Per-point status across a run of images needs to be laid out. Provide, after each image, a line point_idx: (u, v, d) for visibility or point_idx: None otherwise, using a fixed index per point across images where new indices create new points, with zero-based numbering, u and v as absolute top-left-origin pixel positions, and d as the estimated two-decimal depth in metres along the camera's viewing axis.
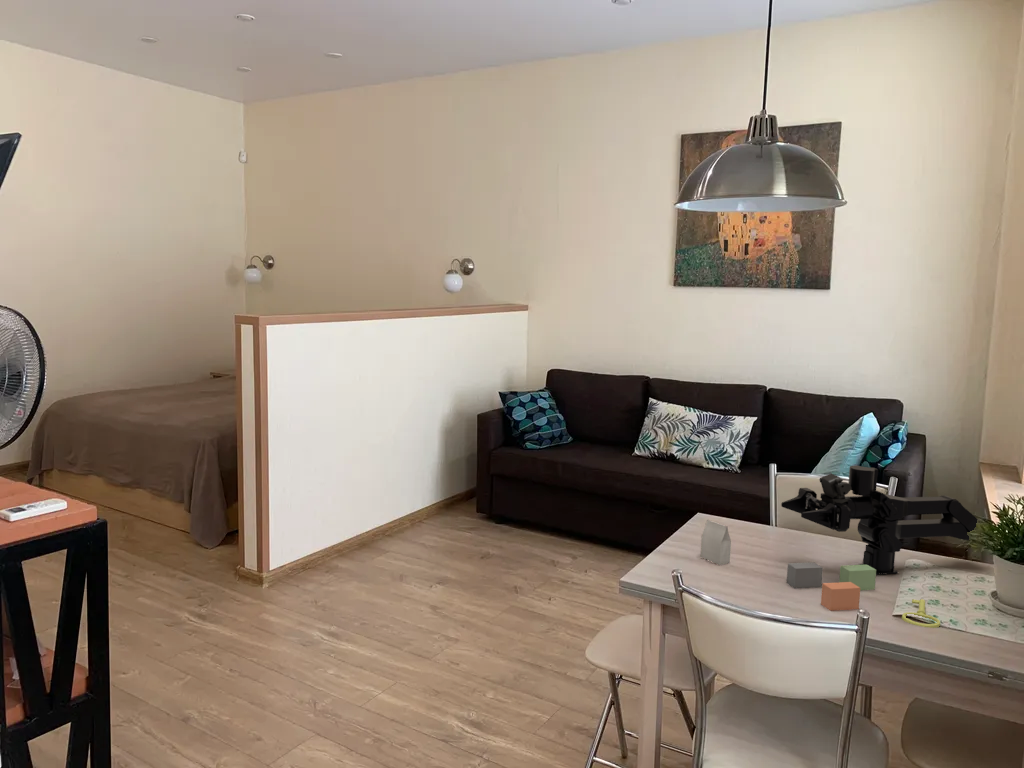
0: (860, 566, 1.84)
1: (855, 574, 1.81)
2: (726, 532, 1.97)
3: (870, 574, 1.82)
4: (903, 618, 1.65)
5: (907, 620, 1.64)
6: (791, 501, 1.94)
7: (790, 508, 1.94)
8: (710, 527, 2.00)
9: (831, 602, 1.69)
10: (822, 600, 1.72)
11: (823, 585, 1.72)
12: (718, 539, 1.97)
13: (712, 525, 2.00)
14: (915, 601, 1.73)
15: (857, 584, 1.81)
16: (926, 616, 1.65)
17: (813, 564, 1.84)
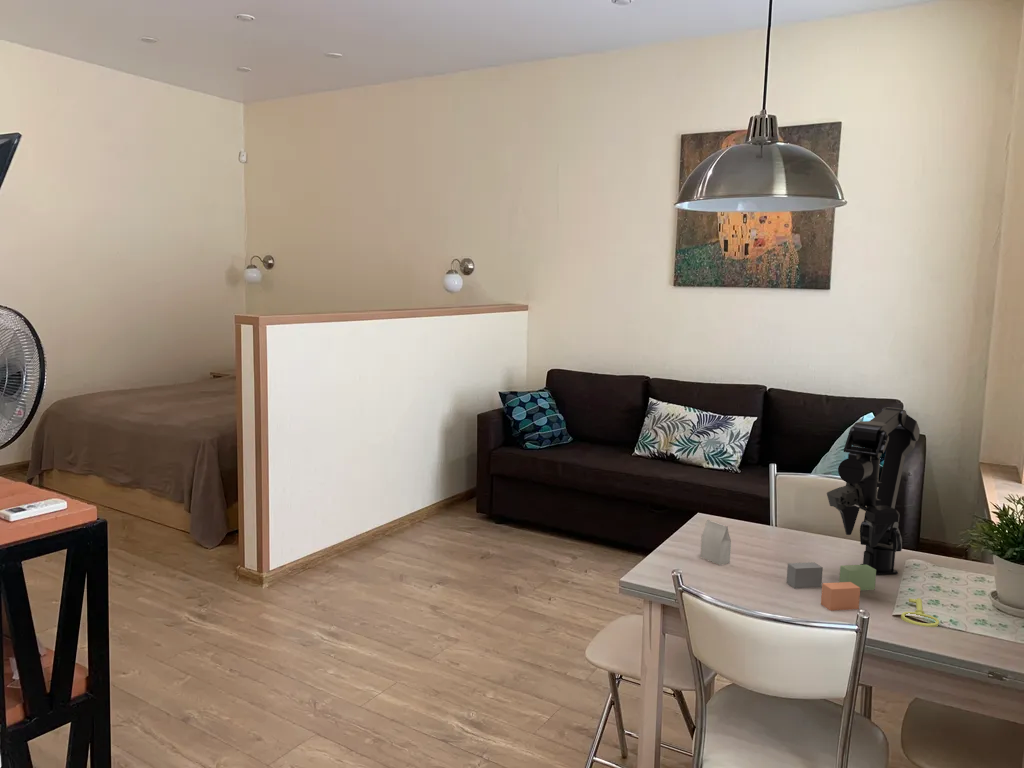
0: (860, 566, 1.84)
1: (855, 574, 1.81)
2: (726, 532, 1.97)
3: (870, 574, 1.82)
4: (902, 617, 1.65)
5: (907, 620, 1.64)
6: (846, 524, 1.86)
7: (853, 525, 1.87)
8: (710, 527, 2.00)
9: (831, 602, 1.69)
10: (822, 600, 1.72)
11: (823, 585, 1.72)
12: (718, 539, 1.97)
13: (712, 525, 2.00)
14: (912, 600, 1.73)
15: (857, 584, 1.81)
16: (925, 615, 1.66)
17: (813, 564, 1.84)
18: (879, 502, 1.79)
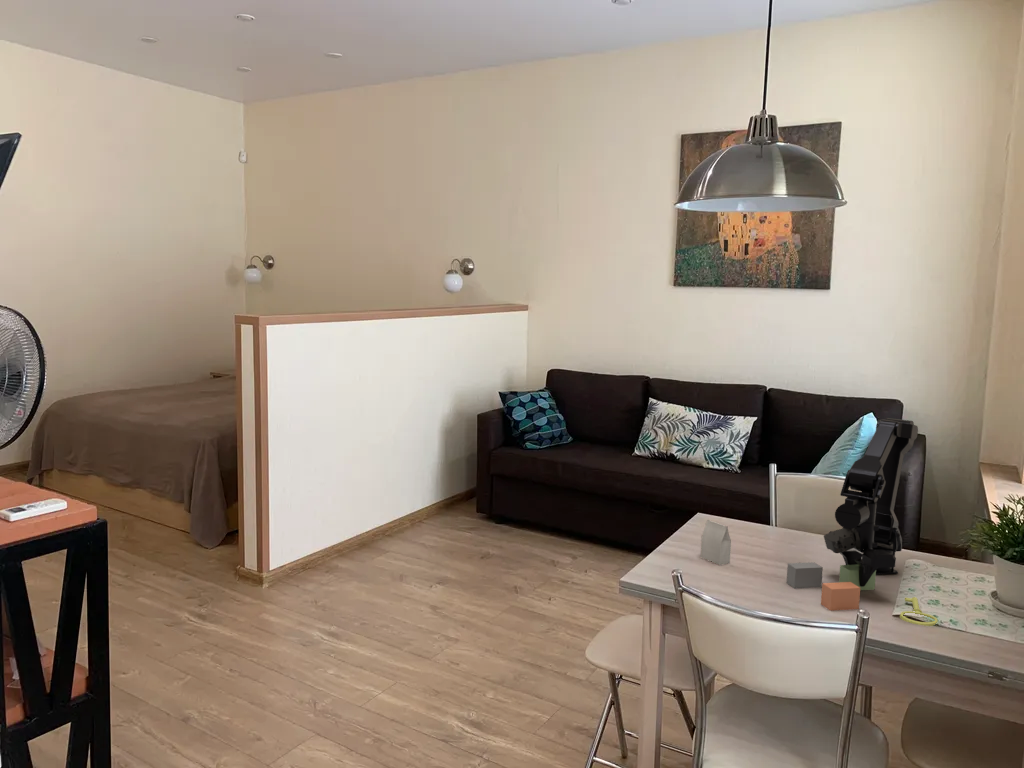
0: None
1: (855, 573, 1.81)
2: (726, 532, 1.97)
3: None
4: (901, 617, 1.66)
5: (906, 619, 1.65)
6: None
7: None
8: (710, 527, 2.00)
9: (831, 602, 1.69)
10: (822, 600, 1.72)
11: (823, 585, 1.72)
12: (718, 539, 1.97)
13: (712, 525, 2.00)
14: (908, 599, 1.74)
15: (857, 584, 1.81)
16: (923, 614, 1.66)
17: (813, 564, 1.84)
18: (876, 545, 1.80)
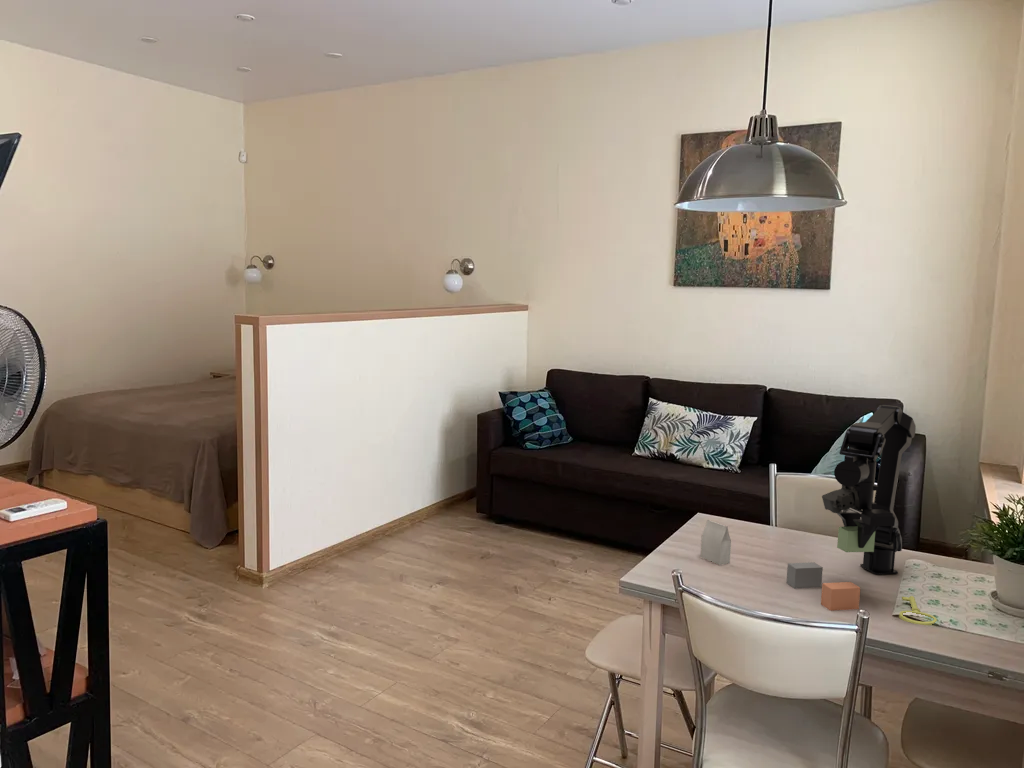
0: None
1: (853, 534, 1.77)
2: (726, 532, 1.97)
3: None
4: (900, 617, 1.66)
5: (906, 619, 1.65)
6: None
7: None
8: (710, 527, 2.00)
9: (831, 602, 1.69)
10: (822, 600, 1.72)
11: (823, 585, 1.72)
12: (718, 539, 1.97)
13: (712, 525, 2.00)
14: (905, 598, 1.74)
15: (856, 545, 1.77)
16: (921, 613, 1.67)
17: (813, 564, 1.84)
18: (875, 506, 1.76)
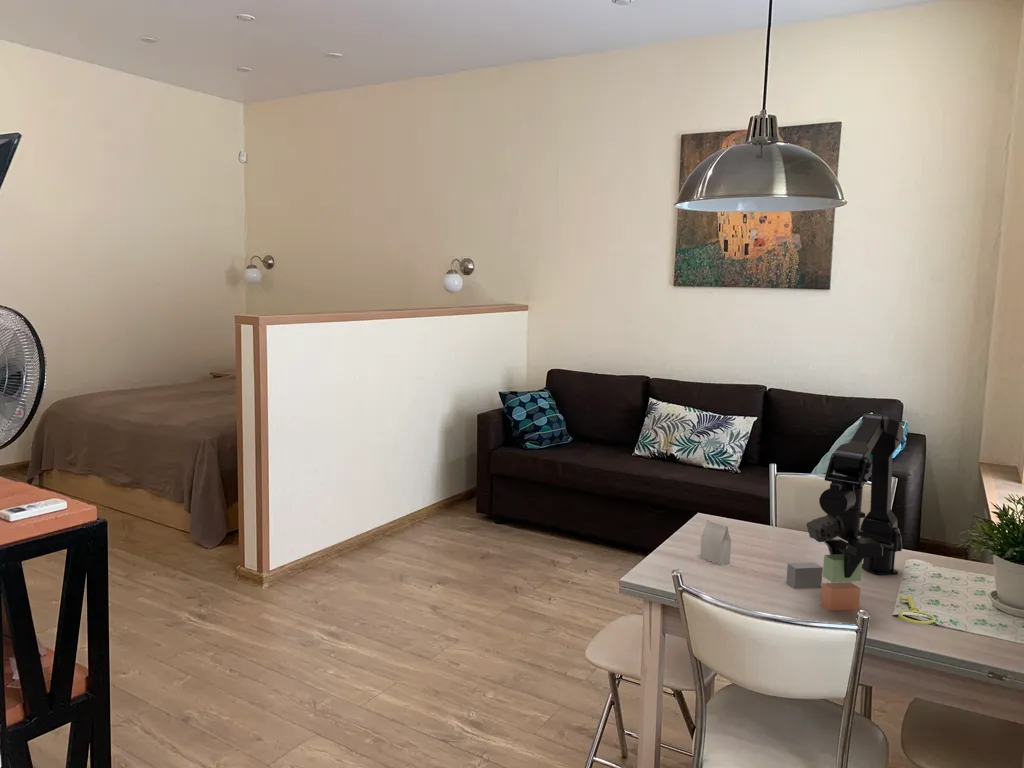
0: None
1: (839, 563, 1.69)
2: (726, 532, 1.97)
3: None
4: (900, 616, 1.66)
5: (905, 619, 1.65)
6: None
7: None
8: (710, 527, 2.00)
9: (831, 602, 1.69)
10: (822, 600, 1.72)
11: (823, 585, 1.72)
12: (718, 539, 1.97)
13: (712, 525, 2.00)
14: (903, 598, 1.74)
15: (842, 574, 1.69)
16: (920, 613, 1.67)
17: (813, 564, 1.84)
18: (862, 534, 1.68)
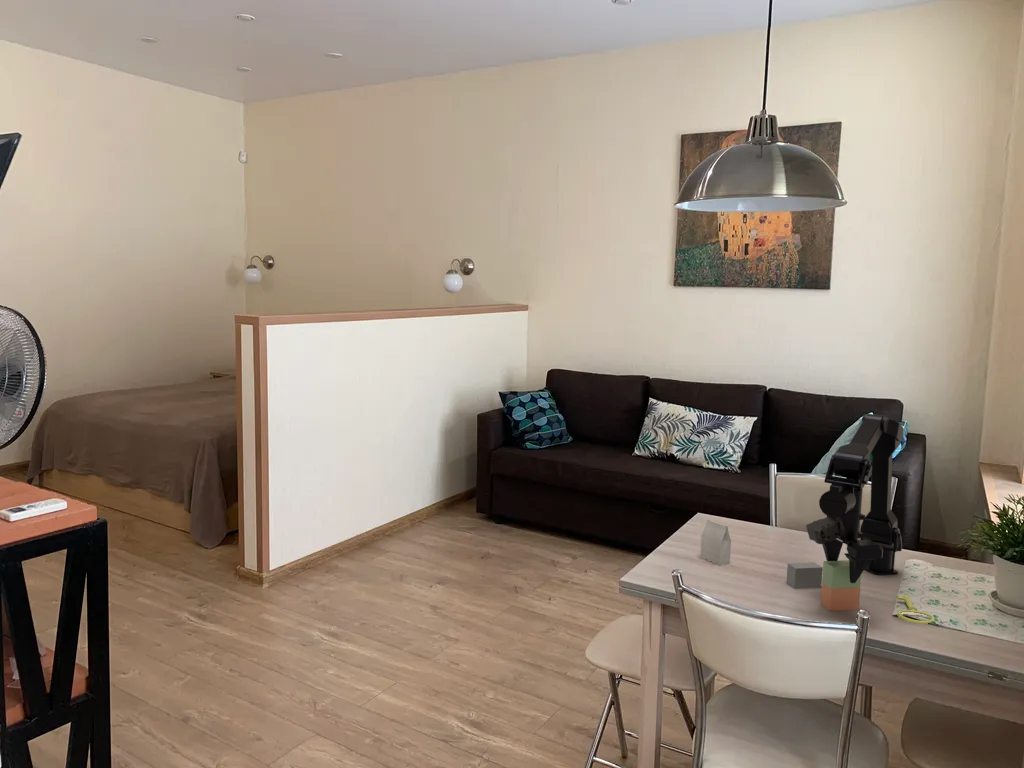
0: (845, 562, 1.72)
1: (839, 570, 1.69)
2: (726, 532, 1.97)
3: None
4: (899, 616, 1.66)
5: (905, 618, 1.65)
6: (829, 559, 1.74)
7: (836, 559, 1.75)
8: (710, 527, 2.00)
9: (831, 602, 1.69)
10: (822, 600, 1.72)
11: (823, 585, 1.72)
12: (718, 539, 1.97)
13: (712, 525, 2.00)
14: (900, 597, 1.75)
15: (841, 581, 1.69)
16: (919, 612, 1.67)
17: (813, 564, 1.84)
18: (862, 536, 1.68)
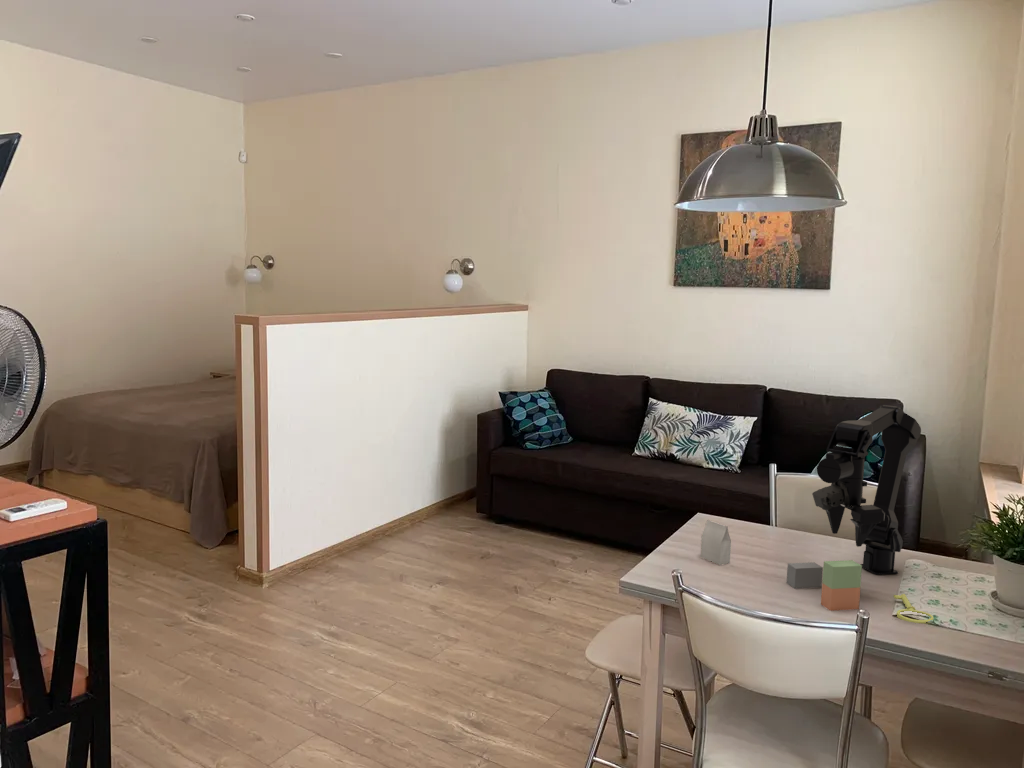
0: (845, 562, 1.72)
1: (839, 570, 1.69)
2: (726, 532, 1.97)
3: (856, 571, 1.69)
4: (899, 616, 1.66)
5: (904, 618, 1.65)
6: (832, 523, 1.87)
7: (839, 523, 1.87)
8: (710, 527, 2.00)
9: (831, 602, 1.69)
10: (822, 600, 1.72)
11: (823, 585, 1.72)
12: (718, 539, 1.97)
13: (712, 525, 2.00)
14: (897, 597, 1.75)
15: (841, 581, 1.69)
16: (917, 612, 1.68)
17: (813, 564, 1.84)
18: (864, 501, 1.80)
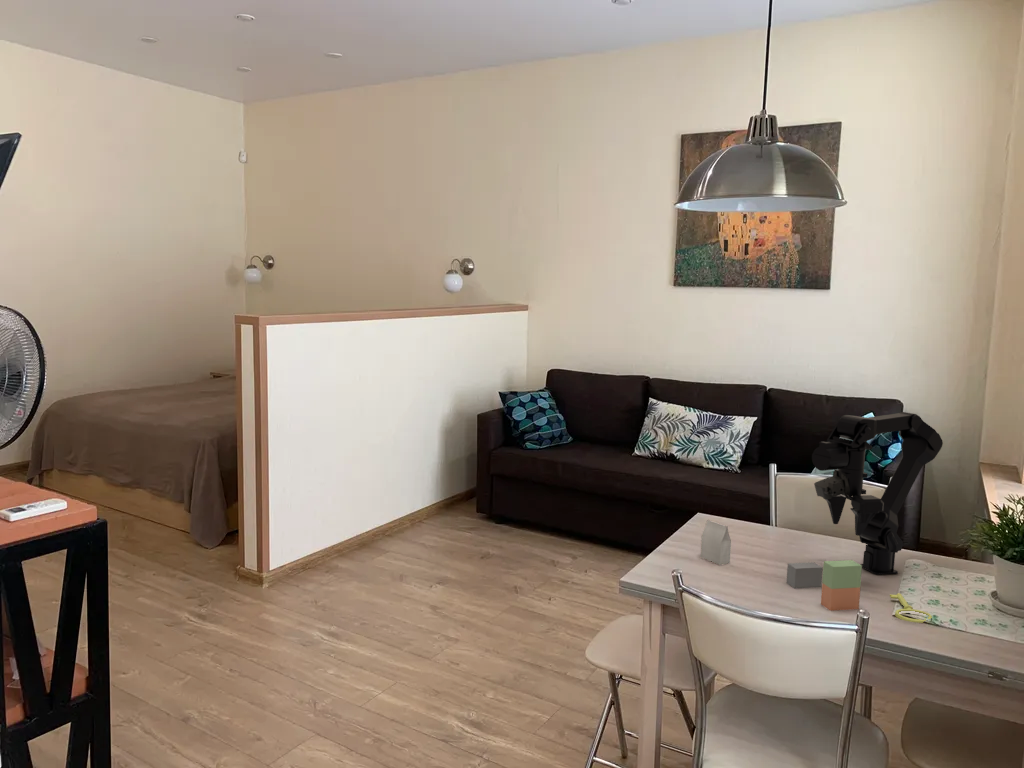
0: (845, 562, 1.72)
1: (839, 570, 1.69)
2: (726, 532, 1.97)
3: (855, 571, 1.69)
4: (898, 616, 1.66)
5: (903, 618, 1.65)
6: (833, 514, 1.93)
7: (840, 514, 1.93)
8: (710, 527, 2.00)
9: (831, 602, 1.69)
10: (822, 600, 1.72)
11: (823, 585, 1.72)
12: (718, 539, 1.97)
13: (712, 525, 2.00)
14: (894, 596, 1.75)
15: (841, 581, 1.69)
16: (915, 611, 1.68)
17: (813, 564, 1.84)
18: (864, 492, 1.86)
